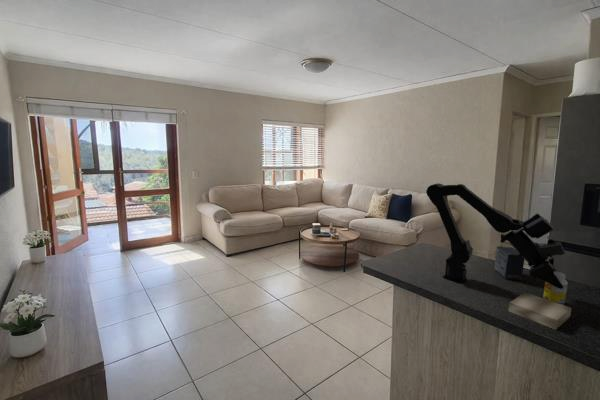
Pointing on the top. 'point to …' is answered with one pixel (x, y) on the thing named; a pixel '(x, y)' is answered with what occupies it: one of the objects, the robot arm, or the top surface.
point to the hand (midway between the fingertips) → (561, 285)
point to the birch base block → (540, 310)
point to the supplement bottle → (556, 290)
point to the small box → (509, 263)
